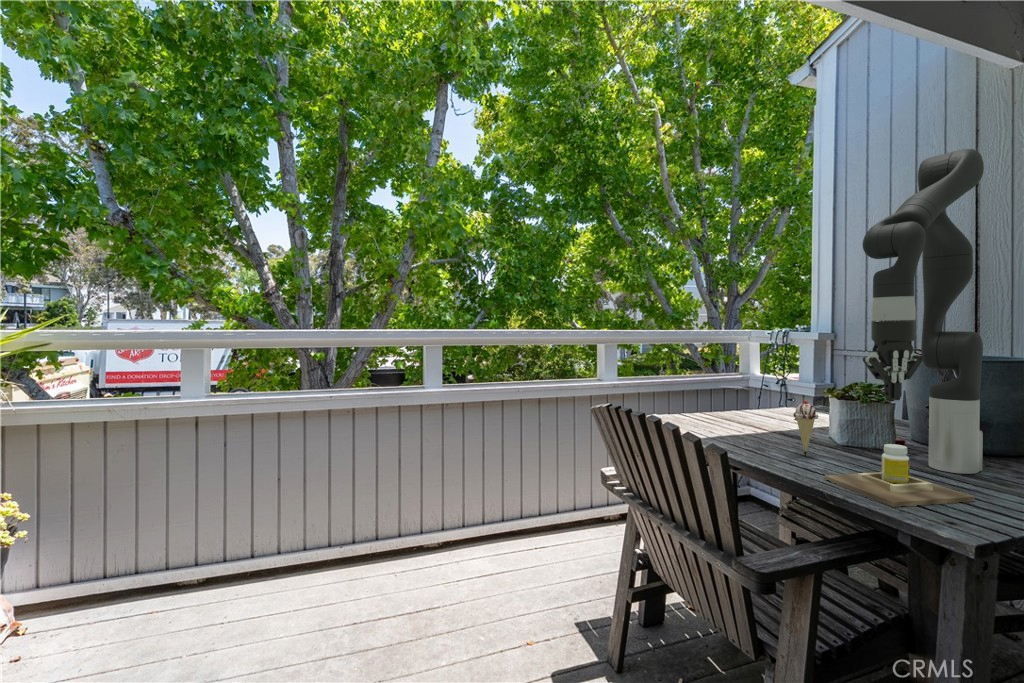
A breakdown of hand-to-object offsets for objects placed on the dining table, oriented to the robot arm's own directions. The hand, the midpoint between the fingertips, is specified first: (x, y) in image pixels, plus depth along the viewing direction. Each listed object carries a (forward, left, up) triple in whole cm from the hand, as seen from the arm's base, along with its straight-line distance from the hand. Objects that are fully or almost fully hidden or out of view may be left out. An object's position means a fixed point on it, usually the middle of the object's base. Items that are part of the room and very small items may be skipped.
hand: (892, 399), depth 109 cm
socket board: (0, +1, -19) cm, 19 cm away
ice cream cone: (-1, -27, -19) cm, 33 cm away
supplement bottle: (0, +1, -18) cm, 18 cm away
